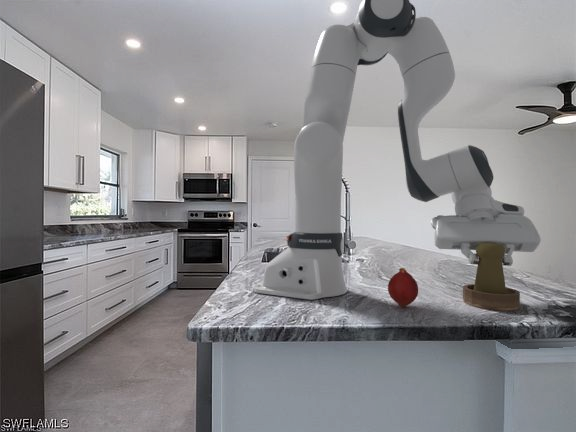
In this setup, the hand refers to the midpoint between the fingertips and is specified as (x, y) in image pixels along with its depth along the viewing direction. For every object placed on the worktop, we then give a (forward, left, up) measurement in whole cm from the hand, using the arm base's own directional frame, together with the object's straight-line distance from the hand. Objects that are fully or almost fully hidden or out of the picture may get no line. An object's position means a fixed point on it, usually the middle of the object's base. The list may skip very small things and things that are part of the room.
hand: (491, 263), depth 68 cm
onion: (-18, -7, -9) cm, 21 cm away
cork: (0, +1, -7) cm, 7 cm away
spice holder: (0, +1, -9) cm, 9 cm away
